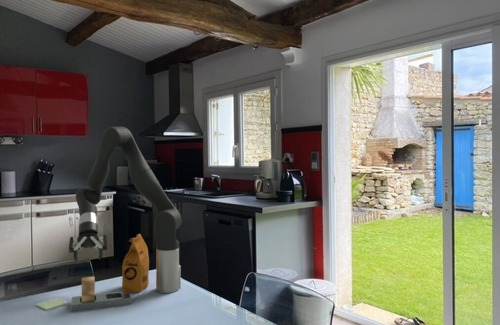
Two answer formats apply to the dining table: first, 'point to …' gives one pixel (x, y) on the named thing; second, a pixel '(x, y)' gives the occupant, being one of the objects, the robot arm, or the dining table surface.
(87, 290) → the peg
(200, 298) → the dining table surface
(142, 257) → the coffee package
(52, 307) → the mat
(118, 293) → the block with square holes
